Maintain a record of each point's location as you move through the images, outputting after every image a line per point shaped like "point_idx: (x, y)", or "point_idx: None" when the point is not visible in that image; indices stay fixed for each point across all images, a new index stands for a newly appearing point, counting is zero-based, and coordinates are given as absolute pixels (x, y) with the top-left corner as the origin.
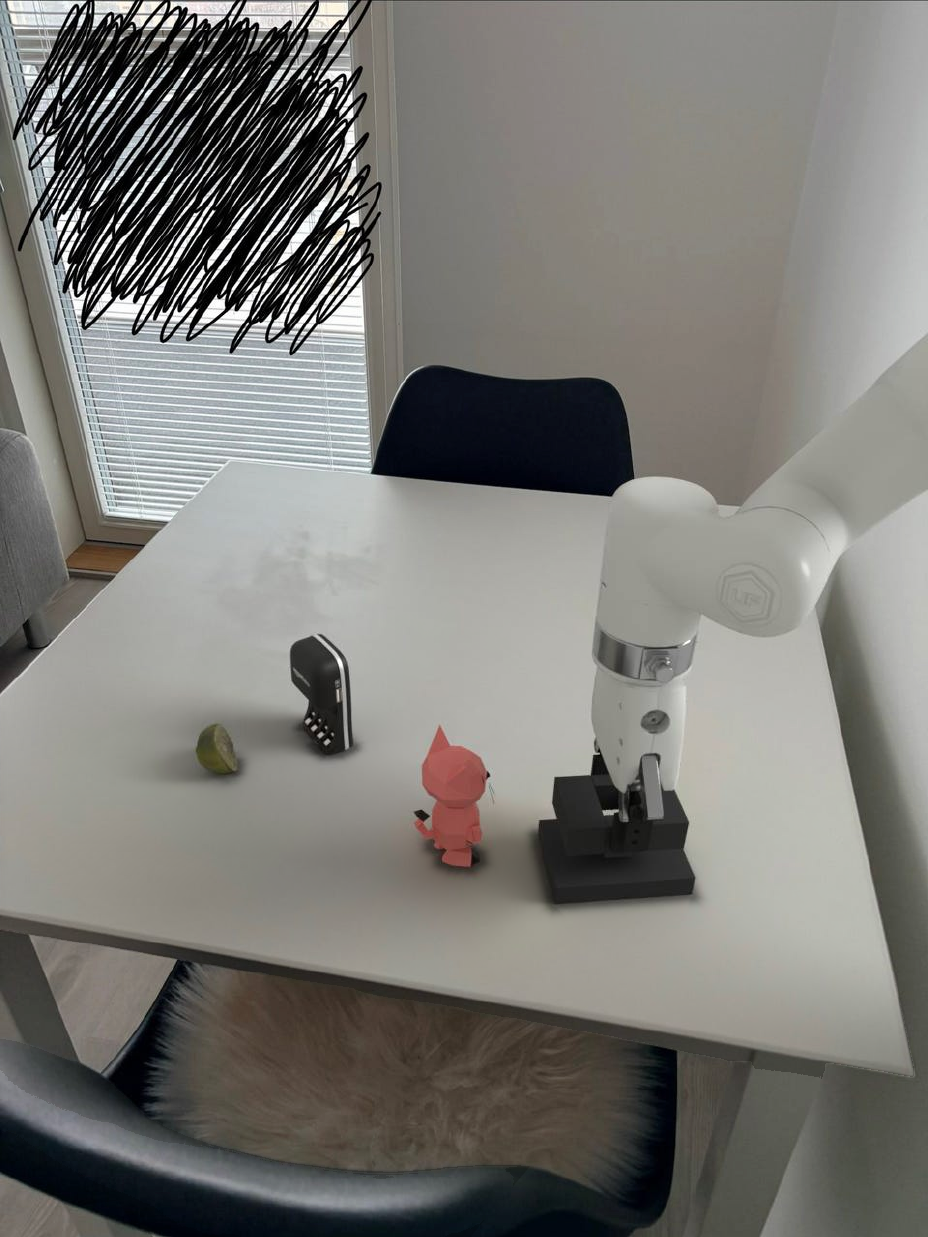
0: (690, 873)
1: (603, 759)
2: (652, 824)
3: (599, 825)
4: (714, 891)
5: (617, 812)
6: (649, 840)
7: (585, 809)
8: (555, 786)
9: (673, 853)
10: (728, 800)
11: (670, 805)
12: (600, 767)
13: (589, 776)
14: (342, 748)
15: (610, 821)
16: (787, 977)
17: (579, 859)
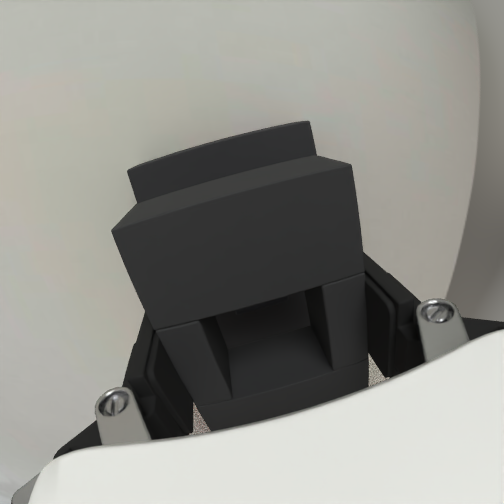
0: (301, 129)
1: (180, 425)
2: (394, 281)
3: (362, 373)
4: (284, 83)
5: (388, 376)
6: (368, 258)
7: (315, 401)
8: None
9: (249, 158)
10: (51, 58)
11: (283, 218)
12: (189, 411)
13: (202, 408)
14: None
15: (353, 358)
16: (415, 30)
17: (288, 321)
